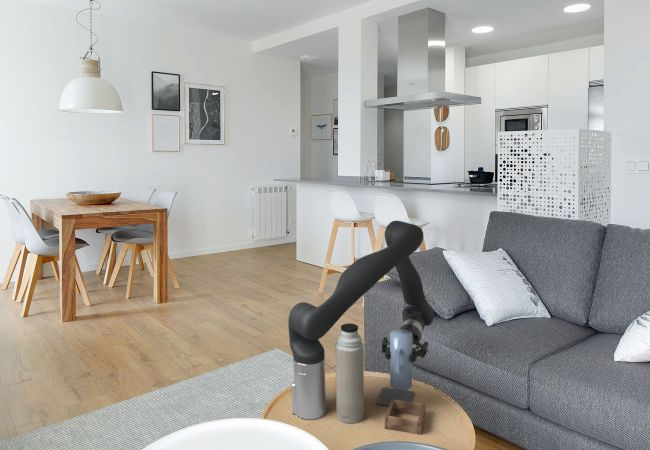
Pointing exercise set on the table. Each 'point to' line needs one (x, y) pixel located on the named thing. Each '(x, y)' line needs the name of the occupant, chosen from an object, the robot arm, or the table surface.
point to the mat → (393, 396)
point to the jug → (400, 359)
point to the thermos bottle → (349, 375)
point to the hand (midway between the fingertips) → (399, 358)
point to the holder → (404, 423)
